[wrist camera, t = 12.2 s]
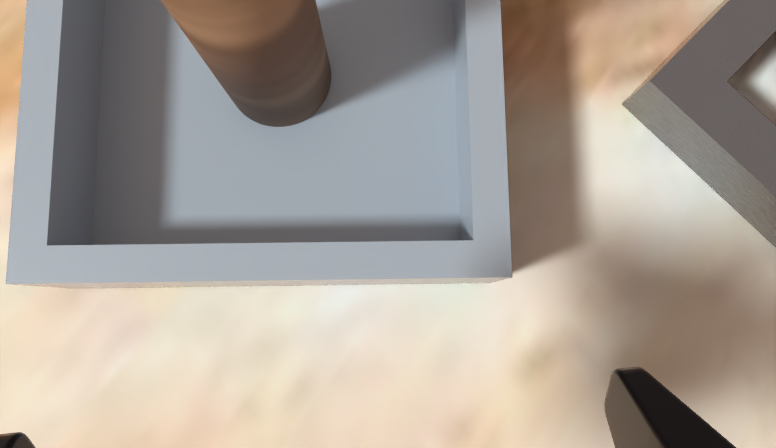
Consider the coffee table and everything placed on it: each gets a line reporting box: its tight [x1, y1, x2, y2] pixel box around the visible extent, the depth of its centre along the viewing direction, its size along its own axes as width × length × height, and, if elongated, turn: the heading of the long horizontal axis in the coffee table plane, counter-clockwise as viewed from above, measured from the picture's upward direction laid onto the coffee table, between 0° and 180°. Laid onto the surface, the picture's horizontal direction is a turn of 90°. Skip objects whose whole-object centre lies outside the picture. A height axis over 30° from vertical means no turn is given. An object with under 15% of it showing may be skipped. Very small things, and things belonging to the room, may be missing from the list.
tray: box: [6, 0, 512, 288], centre depth 22 cm, size 16×16×4 cm
